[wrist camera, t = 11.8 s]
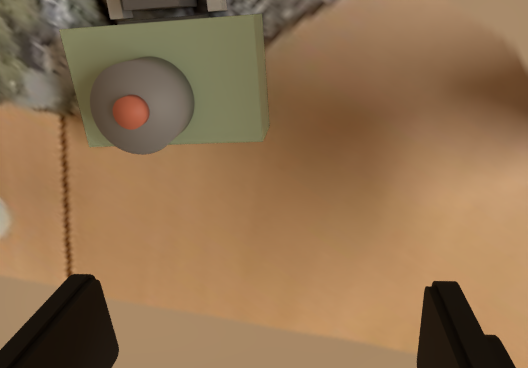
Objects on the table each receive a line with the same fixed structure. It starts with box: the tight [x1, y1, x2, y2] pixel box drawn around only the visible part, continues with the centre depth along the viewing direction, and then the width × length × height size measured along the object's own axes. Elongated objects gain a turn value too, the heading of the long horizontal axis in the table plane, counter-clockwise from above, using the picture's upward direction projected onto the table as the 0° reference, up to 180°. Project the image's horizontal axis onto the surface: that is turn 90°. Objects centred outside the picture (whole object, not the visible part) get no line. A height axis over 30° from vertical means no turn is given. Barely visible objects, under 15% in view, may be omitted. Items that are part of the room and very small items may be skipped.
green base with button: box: [59, 0, 270, 154], centre depth 32 cm, size 16×16×10 cm
